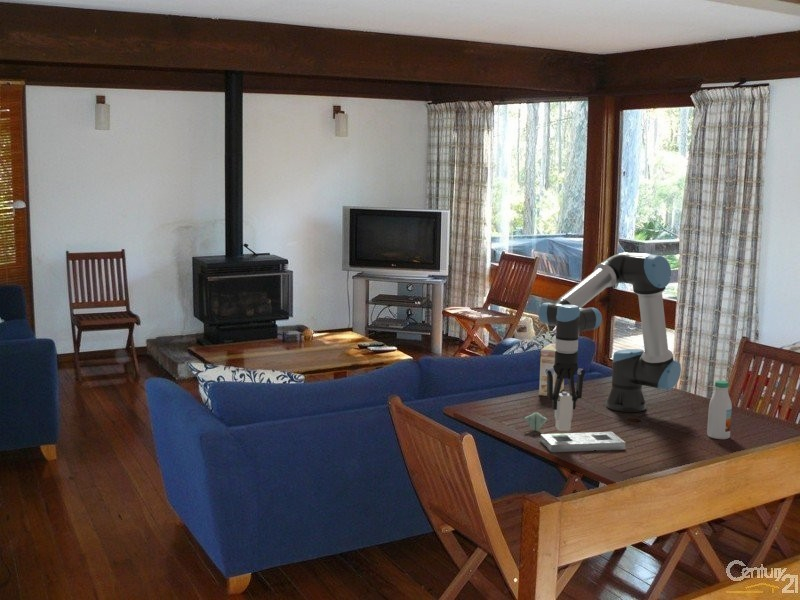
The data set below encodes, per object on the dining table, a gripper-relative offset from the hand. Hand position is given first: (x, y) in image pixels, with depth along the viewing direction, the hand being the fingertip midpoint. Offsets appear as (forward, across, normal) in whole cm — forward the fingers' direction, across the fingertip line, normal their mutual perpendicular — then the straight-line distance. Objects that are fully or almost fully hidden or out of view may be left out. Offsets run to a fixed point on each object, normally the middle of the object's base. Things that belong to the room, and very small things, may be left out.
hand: (563, 418), depth 302 cm
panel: (+10, -7, 0) cm, 12 cm away
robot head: (+10, +4, -18) cm, 21 cm away
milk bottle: (+10, -59, -4) cm, 60 cm away
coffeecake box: (+10, -19, -70) cm, 73 cm away
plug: (+4, 0, 0) cm, 4 cm away
